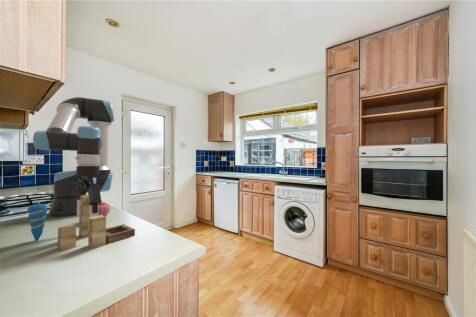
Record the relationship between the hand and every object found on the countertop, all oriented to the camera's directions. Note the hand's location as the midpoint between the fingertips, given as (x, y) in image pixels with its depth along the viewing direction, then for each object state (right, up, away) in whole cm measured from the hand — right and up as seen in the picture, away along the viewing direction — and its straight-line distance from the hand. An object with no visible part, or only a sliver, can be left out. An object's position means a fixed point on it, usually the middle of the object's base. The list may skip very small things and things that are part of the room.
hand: (87, 218), depth 80 cm
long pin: (0, -7, 0) cm, 7 cm away
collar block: (+12, -7, 0) cm, 14 cm away
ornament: (-14, -7, -6) cm, 17 cm away
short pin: (+1, -7, -10) cm, 13 cm away
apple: (-8, -7, +18) cm, 21 cm away
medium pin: (+10, -7, -8) cm, 15 cm away
